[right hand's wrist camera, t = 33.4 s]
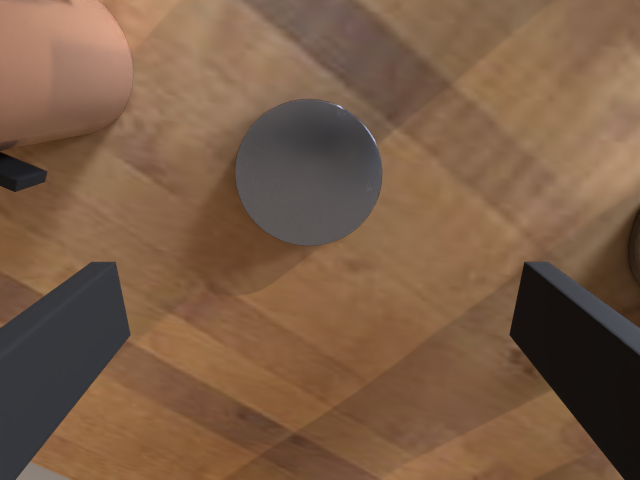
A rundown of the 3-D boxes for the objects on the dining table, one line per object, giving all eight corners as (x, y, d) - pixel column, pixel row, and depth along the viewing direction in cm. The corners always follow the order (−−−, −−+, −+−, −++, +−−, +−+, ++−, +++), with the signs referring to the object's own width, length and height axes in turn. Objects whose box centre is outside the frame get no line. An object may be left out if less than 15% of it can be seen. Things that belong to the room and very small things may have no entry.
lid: (364, 245, 33) (366, 254, 31) (234, 228, 32) (230, 236, 30) (391, 111, 29) (396, 112, 27) (245, 88, 28) (240, 87, 26)
